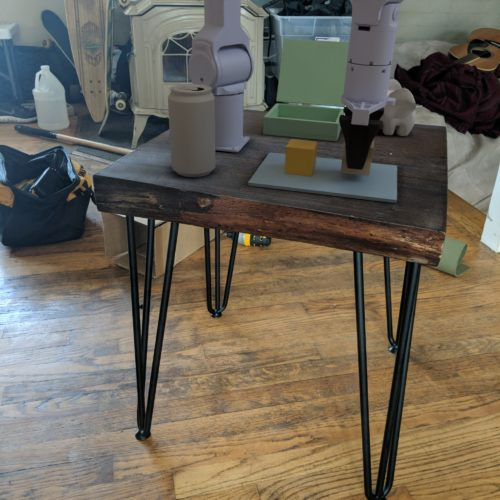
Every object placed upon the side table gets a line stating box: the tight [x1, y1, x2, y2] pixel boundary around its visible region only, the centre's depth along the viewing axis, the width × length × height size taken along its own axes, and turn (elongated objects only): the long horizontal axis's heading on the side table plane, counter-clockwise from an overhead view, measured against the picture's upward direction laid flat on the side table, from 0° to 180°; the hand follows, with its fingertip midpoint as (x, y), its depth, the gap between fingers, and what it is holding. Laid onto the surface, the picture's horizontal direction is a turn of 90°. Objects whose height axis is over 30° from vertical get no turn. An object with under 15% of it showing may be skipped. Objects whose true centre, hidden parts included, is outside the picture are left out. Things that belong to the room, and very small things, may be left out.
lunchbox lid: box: [276, 38, 349, 108], centre depth 101 cm, size 12×13×3 cm
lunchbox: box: [262, 102, 345, 142], centre depth 96 cm, size 11×13×3 cm
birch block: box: [340, 139, 375, 176], centre depth 73 cm, size 4×4×4 cm
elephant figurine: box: [380, 78, 423, 137], centre depth 95 cm, size 10×12×9 cm
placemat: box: [247, 151, 398, 204], centre depth 75 cm, size 20×14×1 cm
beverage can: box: [167, 83, 216, 178], centre depth 73 cm, size 6×6×12 cm
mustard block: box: [284, 138, 319, 176], centre depth 75 cm, size 4×4×4 cm
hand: (356, 163), depth 73 cm, fingers closed on birch block, 4 cm apart
